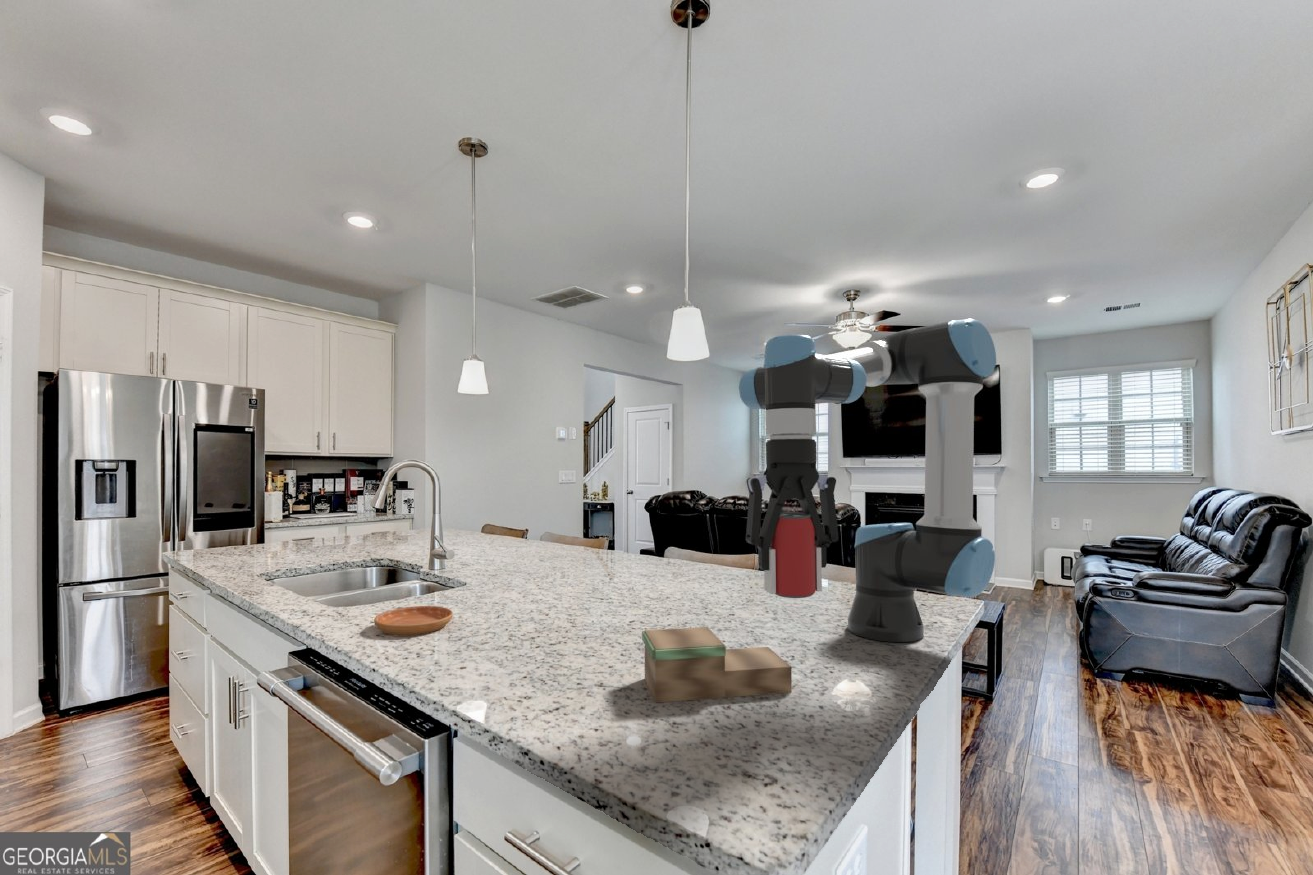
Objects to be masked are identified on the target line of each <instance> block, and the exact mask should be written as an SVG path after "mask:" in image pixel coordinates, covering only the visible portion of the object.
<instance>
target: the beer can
mask: <svg viewBox="0 0 1313 875" xmlns="http://www.w3.org/2000/svg"><path fill="white" fill-rule="evenodd" d="M810 517H811V515H810V514H808V515H807V514H805V513H803V512H781V513H780V516H779V520H778V523H777V526H776V529H775V533H774V536H773V539H772V542H771V545H770V548H773V549H775V562H776V594H775V596H779V597H781V598H788V599H804V598H809V597H811V596H813V595H815V593H816V591H815V590H816V588H815V529H814V525H813V523H812V520H811V518H810Z"/></svg>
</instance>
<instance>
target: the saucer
mask: <svg viewBox="0 0 1313 875" xmlns="http://www.w3.org/2000/svg"><path fill="white" fill-rule="evenodd" d="M453 612H454V611H453V610H451V609H450V608H447V607H443V606H438V605H437V606H436V605H435V606H434V605H423V606H422V605H421V606H418V605H417V606H415V605H414V606H408V607H399V608H394V609H391V610H386V611H384V612H382V613H381V612H380V613H379V614H377V615H376V616H375V617H374V619H373V620H374V625H375V627H376V628H378V629H379V630H380V631H381V632H382V633H384V634H386V635H389V636H398V637H406V636H407V637H408V636H409V637H410V636H418V635H425V634H428V633H429V634H430V633H433V632H437V631H440V630H441V629H443V628H444V627H445V626H446V625H447V624H448V623H449V622H450V621H451V620H452V618H453V615H454V614H453Z"/></svg>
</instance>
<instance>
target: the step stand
mask: <svg viewBox="0 0 1313 875" xmlns="http://www.w3.org/2000/svg"><path fill="white" fill-rule="evenodd" d="M641 640H642V642H643V644H644V680H645V682H646V685H647V687H648V689H649V691H650V693H651V696H652V698H653V701H654V702H655V703H669V702H683V701H696V700H707V699H720V698H721V699H723V698H733V697H734V698H735V697H748V696H759V695H772V694H773V695H774V694H775V695H776V694H786V693H787V694H788V693H792V690H793V689H792V688H793V687H792V683H793V682H792V679H793V678H792V666H791V665H790V664H789V663H788V662H787V661H785V659H783V658H782V657H781V656H780V655H779V654H778V653H776V652H775V651H773V650H772V648H770V647H768V646H761V647H745V648H744V647H743V648H728V649H727V647H726V645H725V643H723V642H722V641H721V640H720V639H719V637H717V635H716V634H715V633H714V632H713V631H712V630H711V629H710V628H709V627H708V626H703V627H686V628H685V627H684V628H683V627H681V628H666V629H646V630H641Z"/></svg>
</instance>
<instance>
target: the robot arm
mask: <svg viewBox="0 0 1313 875" xmlns="http://www.w3.org/2000/svg"><path fill="white" fill-rule="evenodd" d="M815 344H816V343H815V340H814V339H813V338H812V337H811V336H809V335H806V334H785V335H778V336H774V337H772V338H770V339H769V340H768V341H766V344H765V346H764V349H765V350H764V361H763V362H764V364H763V367H762V366H760V367H759V366H758V367H756V368H753V369H749V370H747V371H745V372H744V373H743V374H742V376H741V378H740V380H739V383H738V390H739V397H740V399H741V401H742V403H743V404H744V405H745V406H746V407H748V408H749V409H753V410H765V412H764V413H765V416H764V417H765V435H766V436H767V437H769V439H768V440H766V442H765V464H766V467H765V468H766V469H765V471H764V472H763V475H761V476H757V477H747V479H746V486H747V489H748V505H747V506H748V507H747V519H746V528H745V529H746V530H745V531H746V532H745V541H746V543H748V544H750V545H753V546H756V547H757V550H758V551H757V552H758V553H757V554H758V562H757V564H758V567H759V570H761V571H764V572H763V573H764V574H763V576H764V578H763V579H764V580H763V581H764V582H763V583H764V584H763V586H764V591H765V592H767V593H769V594H770V595H776V562H775V549H773V548H770V545H771V542H772V539H773V536H774V533H775V529H776V526H777V523H778V520H779V516H780V513H782V510H783V507H784V506H785V505H786V503H787V502H786V501H790V500H797V503H798V504H799V505H800V507H801V509H802V513H805V514H807V515H808V514H810V515H811V517H810V518H811V520H812V523H813V525H814V529H815V588H816V590H815V592H822V591H823V581H822V580H823V579H822V577H823V575H822V571H823V569H825V568H826V566H827V564H828V562H827V549H828V548H829V547H830V545H831V544H832V543H837V542H838V541H839V530H838V529H839V528H838V520H837V510H836V501H835V488H836V484H837V478H835V477H833V476H825V475H822V474H819V472H818V469H817V457H818V456H817V441H816V440H815V439H813V436H816V435H817V414H816V413H817V412H816V411H817V410H816V405H817V404H836V405H840V404H842V405H843V404H851V403H853V402H855V401H857V400H859V398H861V396H862V395H863V394H864V393H865V390H866V387H870V388H872V387H877V386H884V385H912V384H915V385H916V384H917V385H918V387H917V389H918V391H919V392H920V393H922V395H924V396H925V398H926V399H925V402H926V404H925V457H924V458H925V460H924V461H925V463H924V466H925V467H924V468H925V469H924V511H923V512H924V514H923V515H922V517H921V518H920V519H919V520H917V521H916V523H915V527H914V526H913V523H911V522H896V523H895V522H891V523H880V524H879V523H877V524H868V525H862V526H860V527H858V528H857V529H856V531H855V542H854V550H855V551H854V552H855V553H854V554H855V595H854V598H853V602H852V605H851V607H850V611H849V614H848V617H847V629H848V631H849V632H850V633H851V634H854V635H856V636H858V637H861V638H865V639H870V640H874V641H875V640H876V641H880V642H891V643H894V642H895V643H905V642H906V643H910V642H915V641H919V640H921V639H923V638H924V635H925V634H924V632H925V631H924V629H925V628H924V623H923V620H922V617H921V614H920V611H919V608H918V605H917V602H916V600H915V591H914V590H915V589H916V590H921V591H926V592H934V593H938V594H942V595H947V596H948V597H961V598H966V599H968V598H971V599H972V598H975V597H978V596H979V595H980V594H982V593H983V592H984V591H985V590H986V588H987V587H988V585H989V583H990V581H991V579H992V577H993V572H994V568H995V562H996V561H995V559H996V554H995V552H996V551H995V550H994V545H993V543H992V542H991V540H989V539H988V538H986V537H984V536H983V535H982V534H983V532H982V531H983V530H982V526H981V525H980V524H979V523H978V522H977V521H976V520H975V518H974V516H973V515H974V446H975V444H974V442H975V441H974V434H975V433H974V431H975V430H974V428H975V426H974V425H975V423H974V422H975V396H976V395H977V394H978V393H979V392H980V391H981V390H982V389H983V387H984V378H987V377H989V376H991V375H992V374H993V373H994V372H995V368H996V366H997V353H996V352H997V351H996V347H995V343H994V341H993V338H992V335H991V334H990V332H989V330H988V328H987V326H985V325H984V324H983V323H982V322H981V321H979V320H977V319H973V318H966V319H965V318H964V319H958V320H957V319H952V320H950V321H946V322H942V323H935V324H931V325H926V326H920V327H915V328H910V329H905V330H900V331H898V332H894V333H890V334H888V335H886V336H882V337H880V338H876V339H873V340H870V341H865V342H862V343H861V344H859V345H858V346H857V347H856V348H855V349H849V350H844V351H839V352H834V353H829V354H820V353H816V351H817V350H816V346H815ZM816 484H817V488H818V490H819V502H820V504H819V505H820V513H821V519H820V515H819V513H818V509H817V507H816V504H815V503H816V500H815V498H814V494H813V491H812V490H813V489H814V487H815V486H816ZM765 485H767V486H768V488H769V490H770V491H771V493H770V496H769V498H768V499H769V500H768V502H769V504H768V505H767V510H766V512H765V513H766V514H765V516H764V517H763V518H764V519H763V522H762V526H761V517H762V507H763V491H764V490H765ZM821 520H822V521H821ZM822 568H823V569H822Z"/></svg>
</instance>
